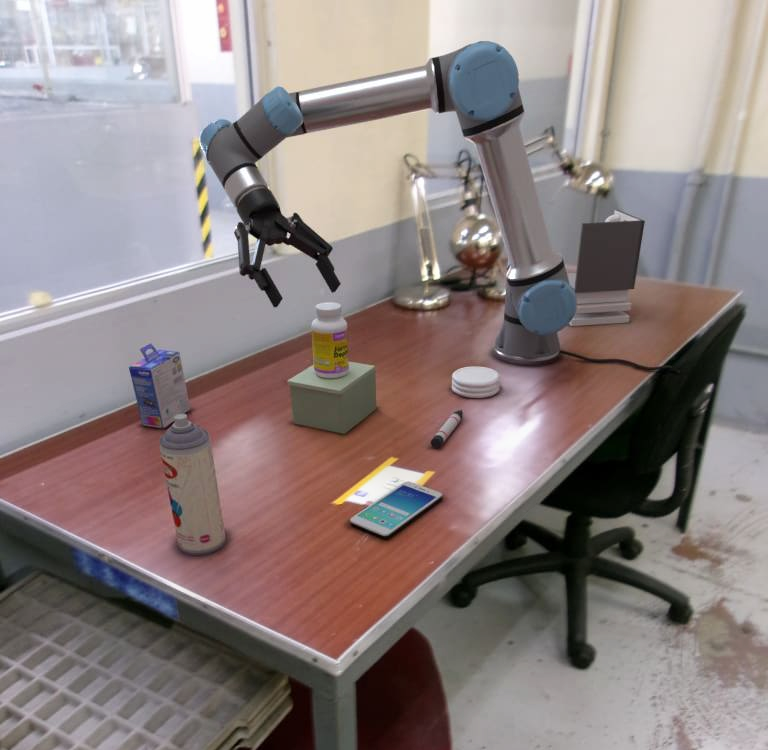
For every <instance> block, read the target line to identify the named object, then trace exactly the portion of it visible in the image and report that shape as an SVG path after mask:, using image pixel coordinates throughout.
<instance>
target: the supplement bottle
mask: <svg viewBox="0 0 768 750" xmlns="http://www.w3.org/2000/svg"><path fill="white" fill-rule="evenodd" d="M315 314H316V317H315V319H314V320H312V322H311V325H310V326H311V327H310V330H311V344H312V346H311V347H312V361H313V365H314V372H315V374H316V375H317V376H319V377H322V378H339V377H342V376H344V375H346V374H347V373H348V371H349V362H350V359H349V337H348V336H349V335H348V334H349V333H348V322H347V320H346V319H345V318H343V317H341V314H342V304H340V303H339V302H331V301H329V302H321V303H317V304H316V305H315Z"/></svg>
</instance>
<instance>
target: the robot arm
mask: <svg viewBox="0 0 768 750" xmlns="http://www.w3.org/2000/svg"><path fill="white" fill-rule="evenodd" d="M519 75H520V74H519V69H518V66H517V63H516V61H515V59H514V57H513V56H512V54H511V53H510V52H509V51H508V50H507V49H506V48H505V47H504V46H502V45H500V44H499V43H497V42H494V41H490V40H479V41H477V42H474V43H470V44H467V45H465V46H463V47H461V48H458V49H456V50H454V51H451V52H449V53H446V54H443V55H439V56H434V57H430V58H429V59H428V61H427V62H426V64H425V65H421V66H416V67H411V68H406V69H401V70H400V69H399V70H396V71H391V72H386V73H381V74H376V75H371V76H367V77H361V78H357V79H352V80H347V81H343V82H337V83H333V84H328V85H323V86H318V87H312V88H307V89H304V90H299V91H295V92H294V91H293V92H288V91H287V90H286V89H285V87H283V86H278V85H277V86H276V87H274V88H273V89H271V90H270V91H269V92H268V93H266V94H264V95H263V96H262V98H261V99H260V100H258V101H257V102H256V103H255V104H254V105H252V106H251V108H249V110H247V111H246V112H245V113H244V114H243V115H241V117H240V118H238V119H237V120H236V121H234V122H231V121H230V120H228V119H225V118H220V119H216V120H215V121H214V122H209V123H208V124H206V126H205V127H203V129H202V131H201V132H200V135H199V141H198V142H199V146H200V148H201V150H202V152H203V154H204V156H205V158H206V161H207V164H208V165H209V166H210V167H211V169H212V171H213V173H214V174H215V176H216V178H217V179H218V181H219V183H220V184H221V186H222V188H223V190H224V191H225V193H226V195H227V197H228V199H229V200H230V202H231V204H232V205H233V207H234V209H236V213H237V215H238V216H239V218H240V220H241V221H238V223H237V225H236V226H235V228H234V230H233V234H234V237H235V238H236V240H237V253H238V267H239V269H238V270H239V274H240V276H242V277H245V276H248V279H249V280H251V281H253V280H254V281H255V283H256V284H257V286H258V288H259V290H260V291H261V292H263V291H264V293H265V294H266V296H267V298H268V299H269V302H270V304H271V305H272V306H273V308H278V307H279V305H280V304H281V302H282V300H283V299H284V298H283V296H282V294H281V293H280V291H279V289H278V287H277V286H276V284H275V282H274V281H273V278H272V277H271V274H270V273H269V271H268V270H267V268H266V267H263V268H261V267H262V264H263V263H262V262H263V257H264V254H265V249H266V246H268V247H271V246H274V245H281V244H284V245H286V246H291V247H293V248H295V249H296V250H298V251H300V253H303V254H304V255H307V256H308V257H309V258H311V259H312V260H315V261H316V263H315V266H316V268H317V270H318V271H319V273H320V275H321V276H322V278H323V280H324V281H325V283H326V285H327V287H328V288H329V290H330V292H331V294H333V293H336V291H337V290H338V289H339V287H340V286H341V285H342V283H341V281H340V280H339V278H338V276H337V274H336V273H335V269H336V268H335V266H334V264H333V263H332V261H331V259H330V258H329V256H330V254H331V253H332V251H333V249H334V248H333V246H332V245H331V244H329V242H328V241H326V240H325V239H324V238H323V237H322V236H321V235H319V234H318V233H317V232H316V231H315V230H314V229H312V228H311V226H309V225H308V224H307V223H305V222H304V220H303V219H302V218H301V216H300V215H299V214H298V213H297V212H293V213H292V214H291V216H289V217H286V216H284V214H283V213H282V211H281V207H280V204H279V202H278V200H277V198H276V196H275V195H274V193H273V191H272V190H271V189H270V186H269V184H268V183H267V181H266V179H265V177H264V176H263V174H262V173H261V171H260V169H259V168H258V166H257V164H256V163H257V162H258V161H259V160H261V159H262V158H264V156H266V155H267V154H268V153H269V152H271V151H272V150H273V149H274V148H276V147H277V146H278V145H280V144H281V143H282V142H283V141H284V140H285V139H287V138H291V137H296V136H297V137H298V136H301V135H306V134H311V133H315V132H321V131H326V130H331V129H337V128H341V127H346V126H352V125H357V124H363V123H368V122H373V121H378V120H383V119H387V118H393V117H398V116H403V115H408V114H413V113H419V112H424V111H429V110H430V111H432V112H434V113H435V114H436V115H439V114H443V113H450V112H453V113H454V112H455V113H456V117H457V119H458V122H459V126H460V129H461V132H462V136H463V139H465V140H467V141H469V142H470V143H472V144H473V145H474V147H475V150H476V153H477V157H478V160H479V165H480V167H481V170H482V174H483V177H484V181H485V184H486V187H487V191H488V194H489V197H490V201H491V204H492V207H493V211H494V213H495V217H496V221H497V224H498V227H499V231H500V234H501V238H502V240H503V245H504V248H505V250H506V254H507V258H508V259H507V266H506V273H505V274H506V275H505V278H506V282H505V296H504V297H505V298H504V310H503V311H504V313H503V322H502V324H501V327H500V329H499V332H498V333H497V336H496V338H495V342H494V344H493V355H494V357H495V358H496V359H498V360H499V361H502V362H504V363H508V364H511V365H518V366H543V365H547V364H551V363H554V362H557V361H558V360H559V358H560V357H561V354H562V355H566V356H570V357H573V358H577V359H580V360H582V361H586V362H590V363H621V364H626V365H630V366H632V367H634V368H637V369H641V370H645V371H660V370H667V369H668V370H672V371H674V372H675V373H676V374H681V372H680V370H679V369H678V370H675V369H674V368H671V367H672V366H673V365H659V366H645V365H641V364H638V363H636V362H633V361H631V360H626V359H623V358H622V359H620V358H591V357H586V356H583V355H580V354H577V353H574V352H570V351H566V350H562V349H561V343H560V339H559V335H558V333H559V332H561V331H562V330H564V329H566V328H567V326H568V325H569V323H570V321H571V320H572V319H573V317H574V315H575V313H576V309H577V299H576V293H575V291H574V290H573V288H572V287H571V286H570V283H569V280H568V276H567V274H568V273H567V272H568V271H567V268H566V266H565V262H564V258H563V255H562V254H560V253H558V252H556V251H554V250H553V247H552V243H551V239H550V236H549V232H548V228H547V225H546V221H545V218H544V217H545V216H544V213H543V210H542V209H543V208H542V206H541V202H540V199H539V194H538V191H537V188H536V183H535V179H534V176H533V172H532V167H531V164H530V159H529V157H528V153H527V149H526V145H525V142H524V138H523V135H522V131H521V127H520V126H521V122H522V120H523V118H524V115H525V108H524V104H523V100H522V96H521V92H520V89H519V85H520V78H519ZM288 234H289V236H288ZM249 235H250V236H252V237H253V238H254V239H256V241H255V245H254V253H253V256H252V261H251V253H250V241H249Z"/></svg>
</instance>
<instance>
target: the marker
mask: <svg viewBox="0 0 768 750" xmlns="http://www.w3.org/2000/svg"><path fill="white" fill-rule="evenodd" d="M463 414H464V412H463V409H459V410H455V411H454V412H453V413H452V414H451V415H450V416H449V417H448V419H446V421H445V422H444V423H443V425H442V426H441V427H440V428H439V430H438V431H437V432H436V433H435V434H434V436H433V438H432V439H431V440H430V446H431V447H432V448H434V449H438V448H440V447H441V446H442V445H443V444H444V443H445V441H446V440H447V439H448V438H449V436H450V435H451V434H452V432H453V431H454V430H455V429H456V427H457V426H458V424H459V423H460V422H461V421H462V419H463Z"/></svg>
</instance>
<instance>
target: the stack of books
mask: <svg viewBox="0 0 768 750" xmlns="http://www.w3.org/2000/svg"><path fill="white" fill-rule="evenodd" d="M644 229H645V220H644V219H642V218H640V217H636V216H634V215H632V214H630V213H627V212H624V211H622V210H620V209H614V212H613V214H612V215H609V216H608V217H607V218H606V219H605V220H604V221H603V222H602V221H600V222H599V221H598V222H597V221H596V222H582V223H581V229H580V236H579V237H580V238H579V246H578V254H577V263H576V271H575V272H574V273H573V272H572V273H571V272H569V273H567V276H568V280H569V283H570V286H571V287H572V288H573V290H574V291H575V293H576V299H577V309H576V313H575V315H574V317H573V319H572V320H571V321H570V323H569V324H568V325H569V326H570V327H579V326H580V327H582V326H594V325H609V324H623V323H625V324H626V323H630V317H631V316H630V315H628V314H627V313H625V311H631V310H632V303H631V302H629V301H628V298H629V297H630V295H629V293H630V292H629V291H631V290H635V285H636V279H637V272H638V267H639V260H640V256H641V255H640V253H641V248H642V242H643V235H644Z"/></svg>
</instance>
